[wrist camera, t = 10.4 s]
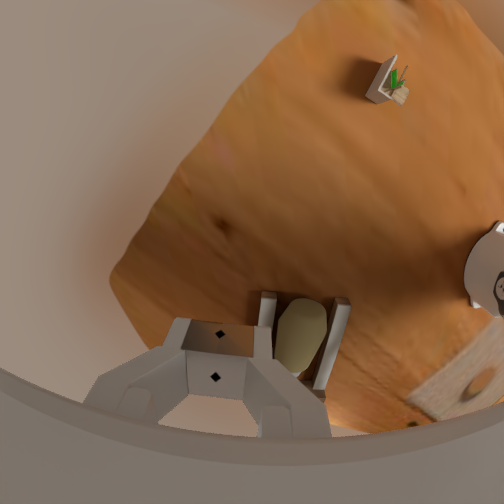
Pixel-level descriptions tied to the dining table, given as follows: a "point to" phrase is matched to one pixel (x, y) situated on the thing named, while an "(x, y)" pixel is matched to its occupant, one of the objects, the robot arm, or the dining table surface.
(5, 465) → the robot arm
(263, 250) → the dining table surface
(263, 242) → the dining table surface
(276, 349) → the squeeze bottle
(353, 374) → the dining table surface
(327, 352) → the cradle
